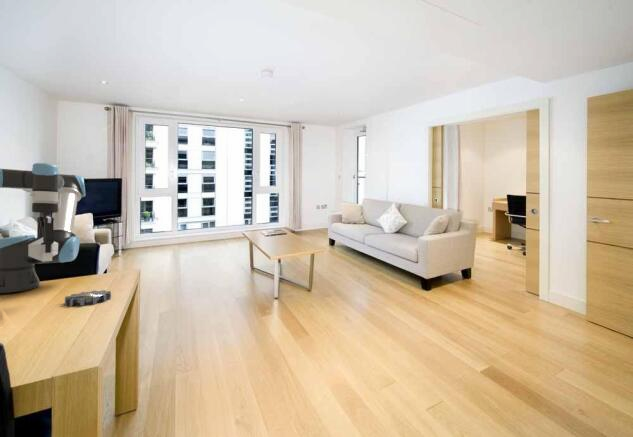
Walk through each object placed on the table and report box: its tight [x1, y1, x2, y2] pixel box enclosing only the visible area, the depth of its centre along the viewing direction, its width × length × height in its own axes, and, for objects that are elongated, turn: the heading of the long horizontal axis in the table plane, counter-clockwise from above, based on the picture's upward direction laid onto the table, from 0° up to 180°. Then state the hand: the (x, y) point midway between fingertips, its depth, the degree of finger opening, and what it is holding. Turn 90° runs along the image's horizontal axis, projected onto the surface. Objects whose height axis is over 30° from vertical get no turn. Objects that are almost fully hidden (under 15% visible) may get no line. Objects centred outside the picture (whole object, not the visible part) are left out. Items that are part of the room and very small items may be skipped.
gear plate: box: [64, 289, 112, 307], centre depth 114 cm, size 15×15×2 cm
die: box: [28, 237, 58, 262], centre depth 113 cm, size 8×9×10 cm
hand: (45, 260), depth 113 cm, fingers closed on die, 7 cm apart
